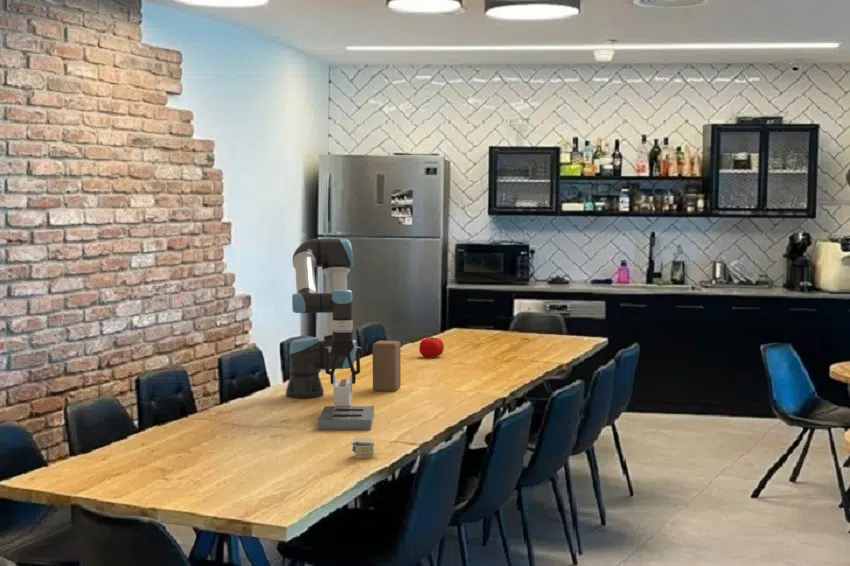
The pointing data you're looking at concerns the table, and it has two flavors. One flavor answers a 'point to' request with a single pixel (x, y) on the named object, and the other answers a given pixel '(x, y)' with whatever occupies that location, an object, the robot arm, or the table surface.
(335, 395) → the light grey box
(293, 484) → the table surface
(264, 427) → the table surface
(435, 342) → the tomato
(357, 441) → the building
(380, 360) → the wooden block
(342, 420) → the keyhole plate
